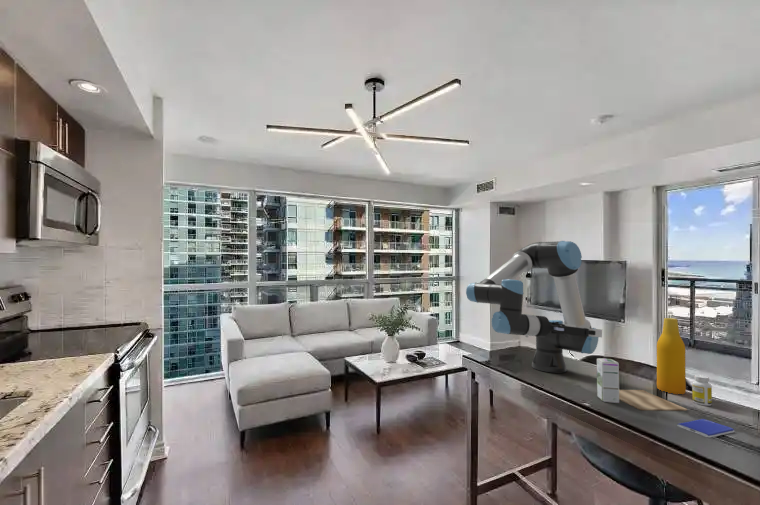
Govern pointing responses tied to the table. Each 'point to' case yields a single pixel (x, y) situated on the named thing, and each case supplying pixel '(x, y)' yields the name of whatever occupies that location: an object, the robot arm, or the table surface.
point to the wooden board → (647, 401)
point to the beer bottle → (671, 359)
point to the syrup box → (608, 380)
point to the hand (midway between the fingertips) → (587, 331)
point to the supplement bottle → (702, 391)
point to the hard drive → (706, 428)
